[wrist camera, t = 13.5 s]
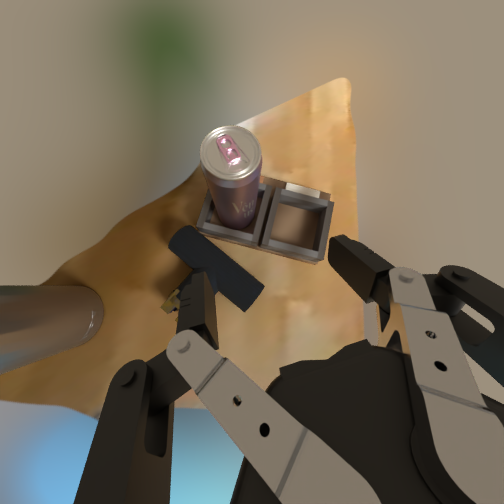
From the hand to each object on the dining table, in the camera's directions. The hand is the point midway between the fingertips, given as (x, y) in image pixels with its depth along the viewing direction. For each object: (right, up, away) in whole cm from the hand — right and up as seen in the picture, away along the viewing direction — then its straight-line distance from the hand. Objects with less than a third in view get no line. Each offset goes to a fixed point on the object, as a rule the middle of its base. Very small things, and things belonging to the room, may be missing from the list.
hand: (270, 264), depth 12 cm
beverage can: (-4, +7, +20) cm, 22 cm away
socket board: (+1, +7, +21) cm, 23 cm away
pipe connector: (-9, -5, +19) cm, 22 cm away
